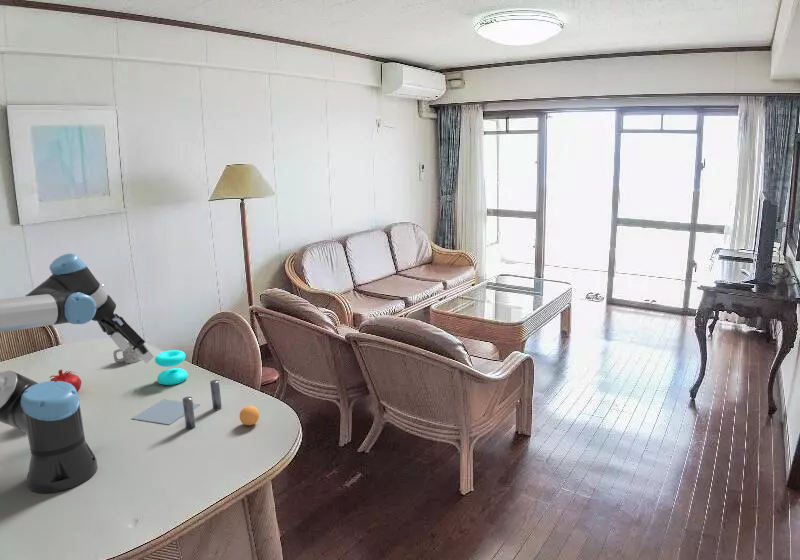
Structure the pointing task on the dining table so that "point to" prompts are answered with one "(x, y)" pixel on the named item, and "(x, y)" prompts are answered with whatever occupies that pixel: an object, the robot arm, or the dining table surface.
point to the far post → (215, 394)
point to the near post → (189, 412)
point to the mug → (128, 355)
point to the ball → (249, 415)
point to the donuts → (172, 374)
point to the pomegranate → (68, 379)
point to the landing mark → (163, 412)
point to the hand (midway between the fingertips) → (137, 354)
